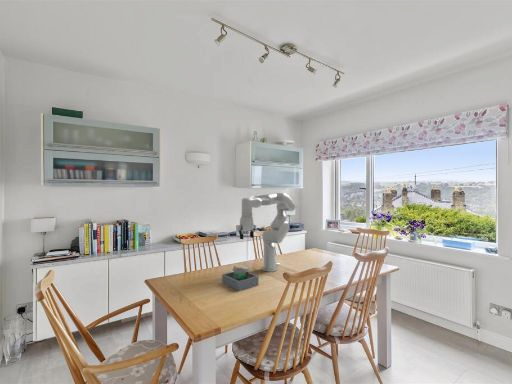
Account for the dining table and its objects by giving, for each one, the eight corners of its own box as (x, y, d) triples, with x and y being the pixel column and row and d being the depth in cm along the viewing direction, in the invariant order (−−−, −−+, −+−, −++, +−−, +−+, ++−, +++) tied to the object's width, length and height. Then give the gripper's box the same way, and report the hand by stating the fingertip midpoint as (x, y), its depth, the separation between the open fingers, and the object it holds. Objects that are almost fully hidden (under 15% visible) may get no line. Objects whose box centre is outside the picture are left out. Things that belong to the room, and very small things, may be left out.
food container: (229, 282, 184) (229, 267, 184) (234, 279, 190) (234, 265, 190) (244, 285, 178) (244, 270, 178) (249, 283, 184) (249, 268, 183)
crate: (241, 278, 197) (241, 269, 197) (258, 285, 183) (258, 276, 183) (222, 283, 186) (222, 274, 186) (238, 291, 172) (238, 281, 172)
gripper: (252, 213, 207) (252, 236, 208) (234, 215, 196) (234, 239, 196) (259, 214, 202) (259, 237, 202) (240, 216, 190) (240, 240, 191)
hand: (246, 238), depth 199 cm, fingers open, 9 cm apart
